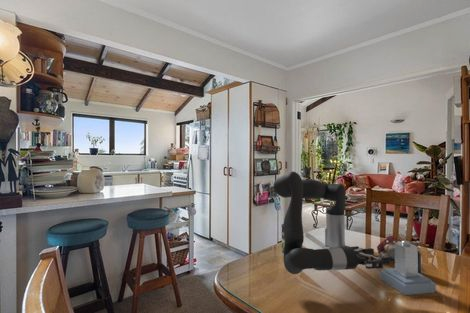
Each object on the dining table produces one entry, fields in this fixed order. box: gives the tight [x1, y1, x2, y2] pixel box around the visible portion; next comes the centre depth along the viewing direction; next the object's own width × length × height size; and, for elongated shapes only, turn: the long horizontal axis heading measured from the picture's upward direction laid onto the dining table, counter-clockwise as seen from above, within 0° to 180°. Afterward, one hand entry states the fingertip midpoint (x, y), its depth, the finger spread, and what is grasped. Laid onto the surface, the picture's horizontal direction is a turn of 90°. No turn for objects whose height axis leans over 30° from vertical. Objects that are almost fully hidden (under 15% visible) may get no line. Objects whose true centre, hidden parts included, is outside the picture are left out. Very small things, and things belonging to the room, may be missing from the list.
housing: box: [393, 239, 420, 279], centre depth 94 cm, size 6×6×12 cm
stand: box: [379, 267, 436, 296], centre depth 94 cm, size 12×12×4 cm
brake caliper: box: [376, 235, 401, 263], centre depth 116 cm, size 11×11×12 cm
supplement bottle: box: [410, 241, 423, 275], centre depth 103 cm, size 7×7×12 cm
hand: (381, 255), depth 92 cm, fingers open, 8 cm apart
